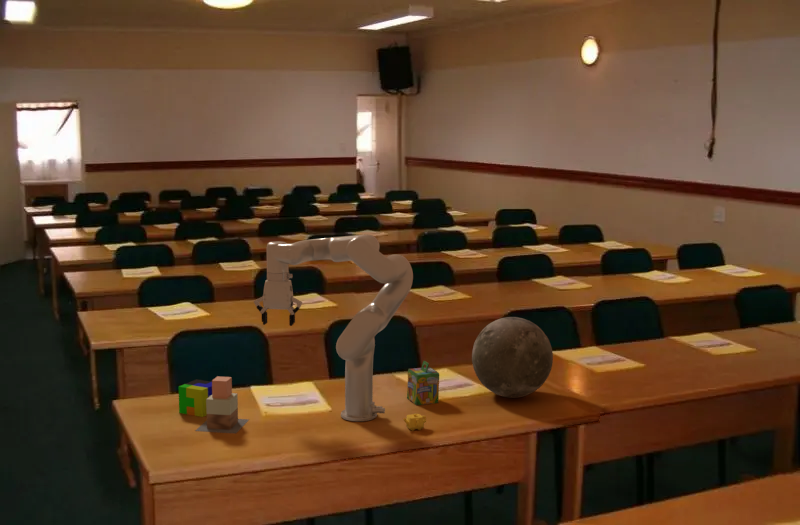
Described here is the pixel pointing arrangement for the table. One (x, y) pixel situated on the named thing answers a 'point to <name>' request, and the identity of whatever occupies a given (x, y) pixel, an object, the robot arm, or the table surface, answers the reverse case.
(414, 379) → the chalk box
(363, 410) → the robot arm
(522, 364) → the globe
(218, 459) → the table surface
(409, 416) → the teapot
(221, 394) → the terracotta block
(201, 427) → the mat
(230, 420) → the tower base
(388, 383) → the table surface
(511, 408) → the table surface
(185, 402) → the puzzle toy
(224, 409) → the tower top
